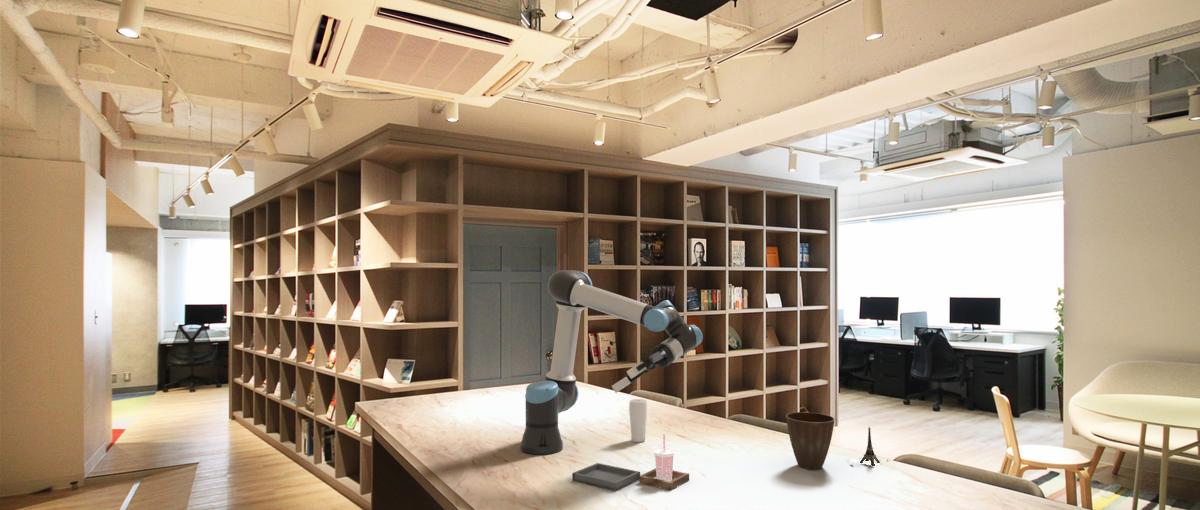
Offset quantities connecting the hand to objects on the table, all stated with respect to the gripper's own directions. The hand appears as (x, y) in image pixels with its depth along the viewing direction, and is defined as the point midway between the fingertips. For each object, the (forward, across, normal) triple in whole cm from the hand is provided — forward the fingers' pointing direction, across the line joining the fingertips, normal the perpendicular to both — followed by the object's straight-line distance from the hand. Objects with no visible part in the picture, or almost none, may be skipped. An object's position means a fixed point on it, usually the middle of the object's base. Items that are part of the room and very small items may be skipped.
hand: (621, 382), depth 201 cm
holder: (+9, -2, -32) cm, 33 cm away
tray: (+21, +4, -22) cm, 30 cm away
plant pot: (-36, -6, -56) cm, 67 cm away
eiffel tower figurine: (-54, -10, -68) cm, 87 cm away
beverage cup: (+9, -2, -32) cm, 33 cm away
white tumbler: (-13, +38, -18) cm, 44 cm away
